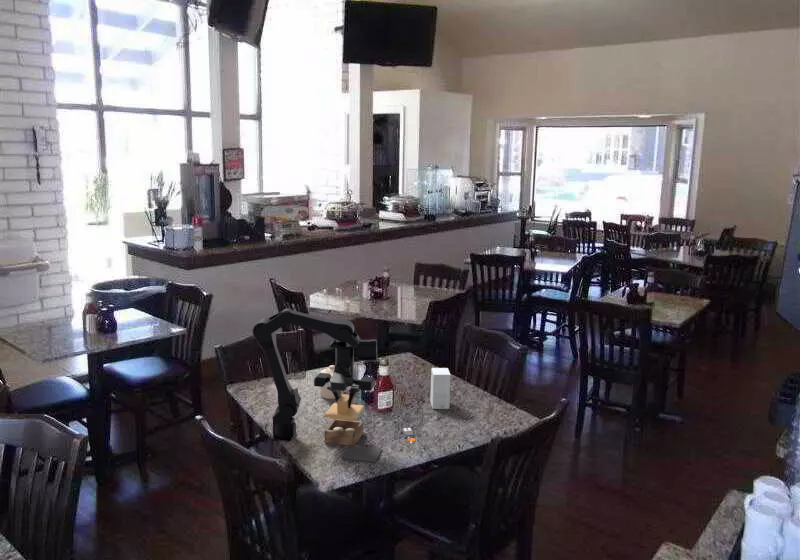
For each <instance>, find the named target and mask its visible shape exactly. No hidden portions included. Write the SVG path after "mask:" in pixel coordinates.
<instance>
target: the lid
mask: <svg viewBox="0 0 800 560" xmlns="http://www.w3.org/2000/svg"><path fill="white" fill-rule="evenodd" d="M348 403H349V394H347V393H346V394H345V393H343V394H342V396H341V397H340V398H339V399H338V401H337V402H334V403H332V405H331V406H330V407H329V408H328V410H326V411H325V413H324V418H328V419H331V420H333V419H340V420H350V421H357V418H359V415H360V414H361V413H362V412H363V410H364V408H365V407H364V405H361V404H353V403H352V405H351V407H350V408H349V406H348Z"/></svg>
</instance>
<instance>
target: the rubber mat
mask: <svg viewBox="0 0 800 560" xmlns="http://www.w3.org/2000/svg"><path fill="white" fill-rule="evenodd" d="M382 451H383V448H377V447H370V446H359V445H355V446H352V445H349V448H348V449H347V451H346V453H344V456H343V457H342V459H343V460H344V461H352V462H353V461H354V462H362V463H370V464H371V463H372V464H376V463H377V461H378V459H379V457H380V456H381V453H382Z"/></svg>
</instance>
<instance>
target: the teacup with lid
mask: <svg viewBox="0 0 800 560" xmlns="http://www.w3.org/2000/svg"><path fill="white" fill-rule="evenodd" d="M334 368H335V365H334V364H332V365H329V366H328V367H327V368H325V369H321V371H320V372H319V373H329V374H331V377H332V375H333V373H334ZM327 387H328V383H326V384H325V385H324V386H323V387H319V388H320V389H319V390H320V394H319V396H320V397H321V398H323V399H327V400H336V399H335V397H334V394H333V393H332V391H330V390H328V389H327ZM342 394H344V391H341V396H342Z"/></svg>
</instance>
